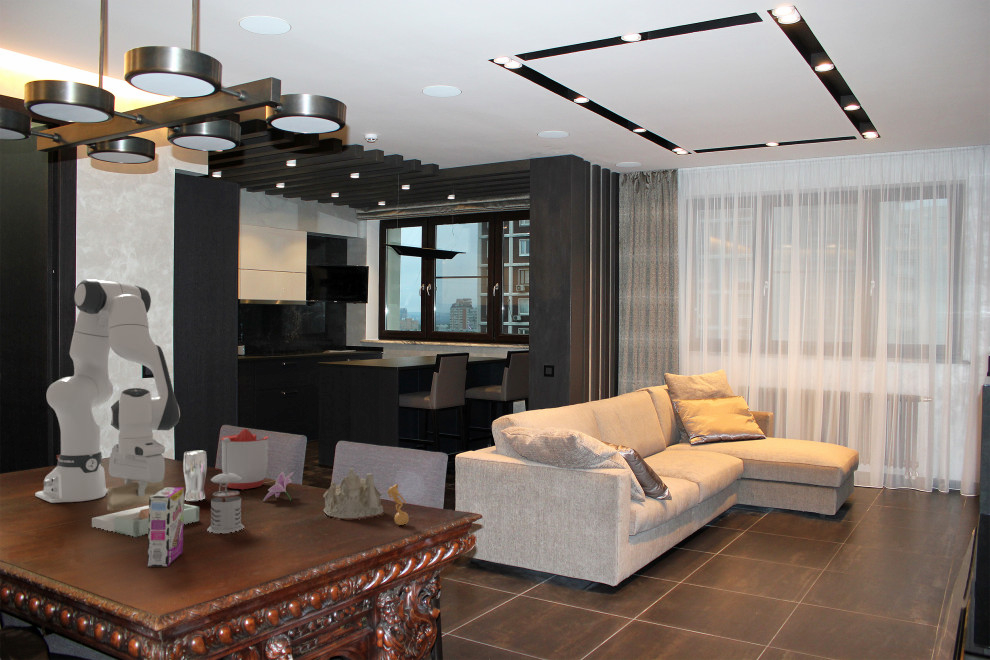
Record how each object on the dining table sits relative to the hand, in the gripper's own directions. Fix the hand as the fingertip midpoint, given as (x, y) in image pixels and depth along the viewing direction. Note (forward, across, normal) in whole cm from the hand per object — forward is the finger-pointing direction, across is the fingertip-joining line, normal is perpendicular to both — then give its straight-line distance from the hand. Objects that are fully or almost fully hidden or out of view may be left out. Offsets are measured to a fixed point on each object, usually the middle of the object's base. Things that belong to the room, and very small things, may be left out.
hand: (135, 495), depth 219 cm
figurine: (+8, +66, +35) cm, 75 cm away
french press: (+8, +27, +8) cm, 29 cm away
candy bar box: (+8, +38, -19) cm, 43 cm away
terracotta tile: (+6, +8, 0) cm, 10 cm away
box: (+7, +10, 0) cm, 13 cm away
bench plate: (+7, +1, 0) cm, 7 cm away
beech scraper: (+3, 0, 0) cm, 3 cm away
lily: (+8, +16, +40) cm, 44 cm away
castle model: (+8, +46, +40) cm, 61 cm away
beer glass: (+8, -8, +27) cm, 29 cm away
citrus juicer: (+8, -10, +50) cm, 51 cm away
